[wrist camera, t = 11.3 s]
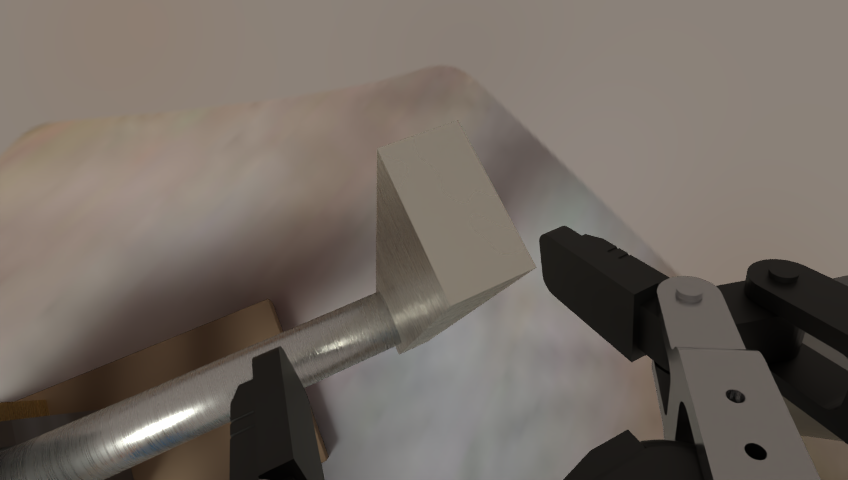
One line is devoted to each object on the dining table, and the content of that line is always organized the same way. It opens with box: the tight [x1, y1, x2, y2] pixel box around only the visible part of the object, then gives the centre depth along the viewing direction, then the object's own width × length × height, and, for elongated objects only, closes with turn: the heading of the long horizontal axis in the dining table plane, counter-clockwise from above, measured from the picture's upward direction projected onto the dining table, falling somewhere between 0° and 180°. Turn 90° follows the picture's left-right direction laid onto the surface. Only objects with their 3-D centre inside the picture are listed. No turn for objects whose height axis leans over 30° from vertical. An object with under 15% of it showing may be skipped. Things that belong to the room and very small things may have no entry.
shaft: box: [0, 120, 536, 480], centre depth 13 cm, size 18×3×16 cm, turn 115°
